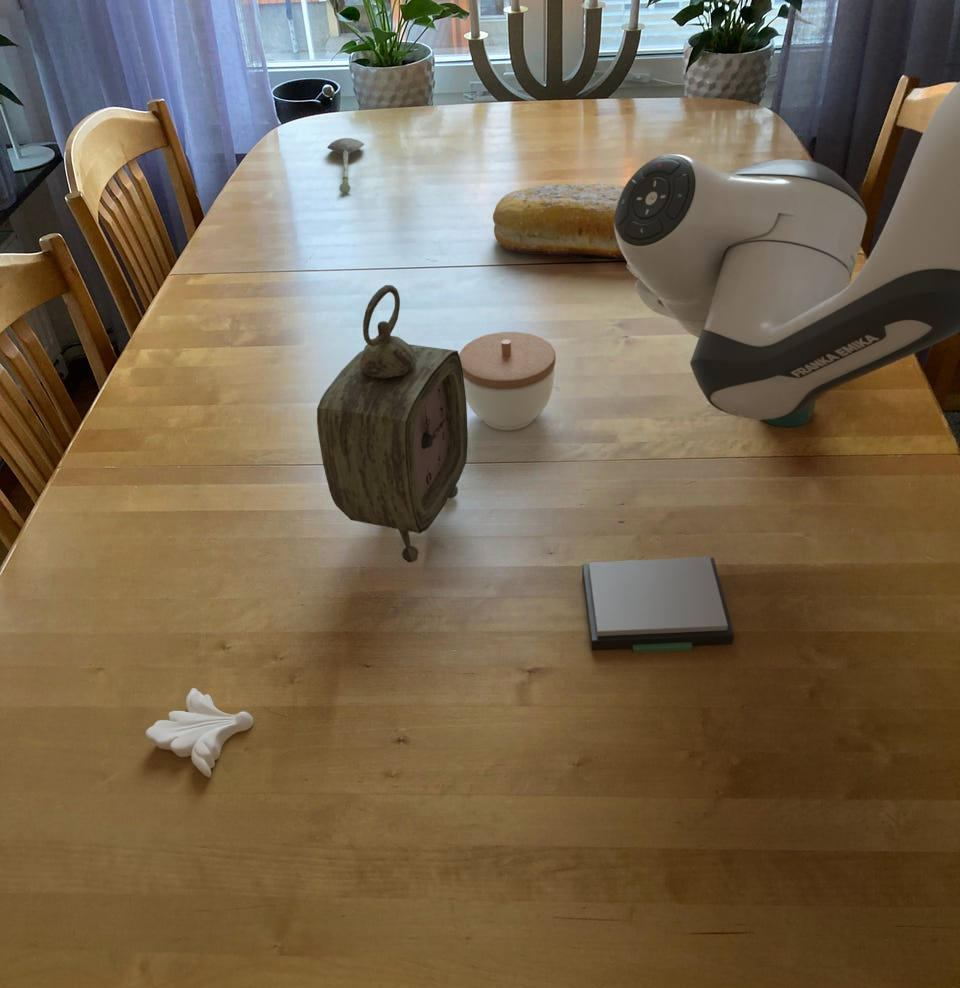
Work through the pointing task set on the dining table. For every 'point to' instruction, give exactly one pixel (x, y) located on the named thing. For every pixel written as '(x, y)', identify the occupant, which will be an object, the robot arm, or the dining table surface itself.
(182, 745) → the acanthus leaf ornament
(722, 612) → the scale
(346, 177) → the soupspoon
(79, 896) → the dining table surface
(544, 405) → the trinket box
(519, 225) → the bread
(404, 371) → the tabletop clock
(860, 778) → the dining table surface
